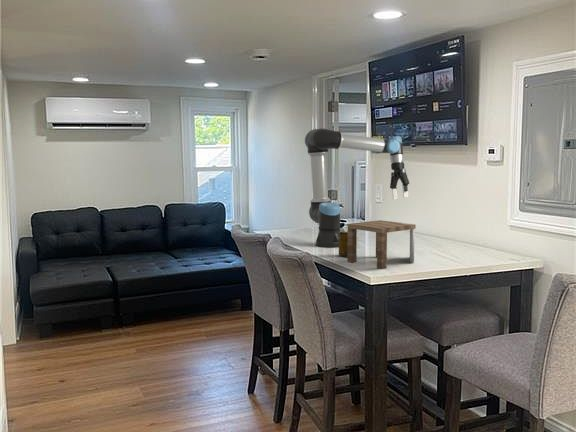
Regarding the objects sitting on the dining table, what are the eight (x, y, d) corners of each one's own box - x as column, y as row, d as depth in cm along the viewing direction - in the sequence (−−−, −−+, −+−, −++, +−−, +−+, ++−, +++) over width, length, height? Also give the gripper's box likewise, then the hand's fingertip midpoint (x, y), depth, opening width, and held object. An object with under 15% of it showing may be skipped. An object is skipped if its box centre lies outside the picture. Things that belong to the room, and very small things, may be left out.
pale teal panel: (409, 262, 255) (410, 230, 254) (409, 256, 270) (410, 226, 268) (413, 262, 255) (414, 230, 253) (414, 256, 269) (414, 226, 268)
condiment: (343, 254, 280) (343, 230, 279) (357, 256, 275) (357, 232, 273) (334, 256, 275) (334, 232, 274) (348, 258, 269) (348, 233, 268)
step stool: (381, 269, 243) (382, 228, 241) (347, 261, 260) (347, 223, 258) (414, 263, 256) (415, 224, 254) (379, 256, 273) (380, 220, 271)
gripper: (413, 158, 315) (416, 195, 314) (393, 165, 339) (396, 200, 338) (401, 159, 313) (404, 196, 312) (382, 166, 337) (385, 200, 336)
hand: (400, 198), depth 325 cm, fingers open, 13 cm apart
